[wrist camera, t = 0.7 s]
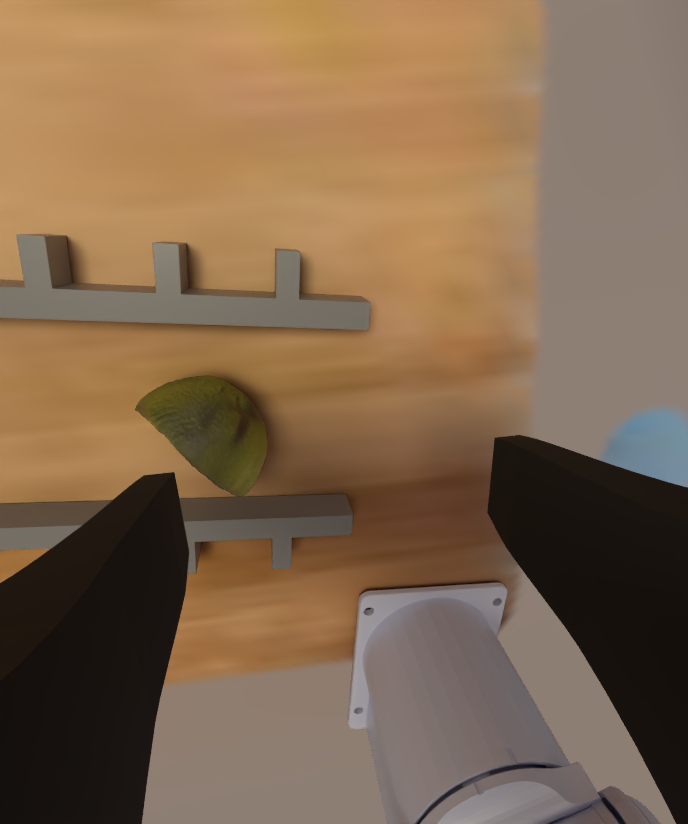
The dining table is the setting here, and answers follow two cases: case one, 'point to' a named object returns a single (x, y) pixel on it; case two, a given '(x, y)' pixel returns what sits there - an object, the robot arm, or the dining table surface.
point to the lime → (211, 429)
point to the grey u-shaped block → (176, 303)
